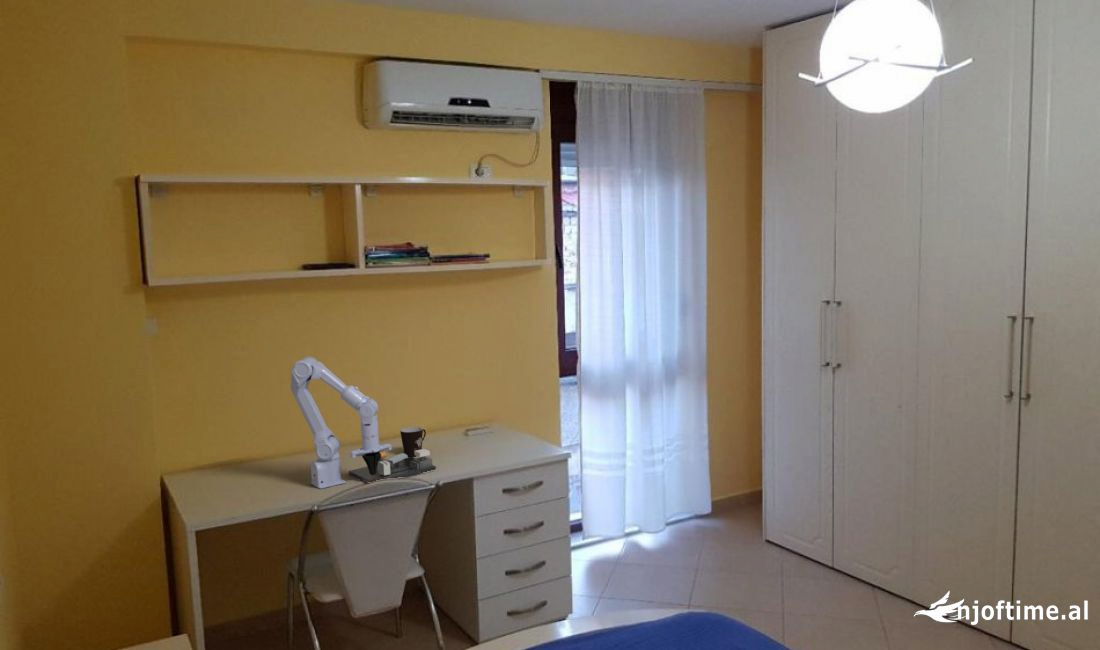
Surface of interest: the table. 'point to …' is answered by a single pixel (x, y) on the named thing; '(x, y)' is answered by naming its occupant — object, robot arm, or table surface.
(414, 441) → the coffee mug
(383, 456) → the round button
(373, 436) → the robot arm
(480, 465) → the table surface
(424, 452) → the square button
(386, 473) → the slider knob
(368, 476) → the panel
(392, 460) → the rocker
